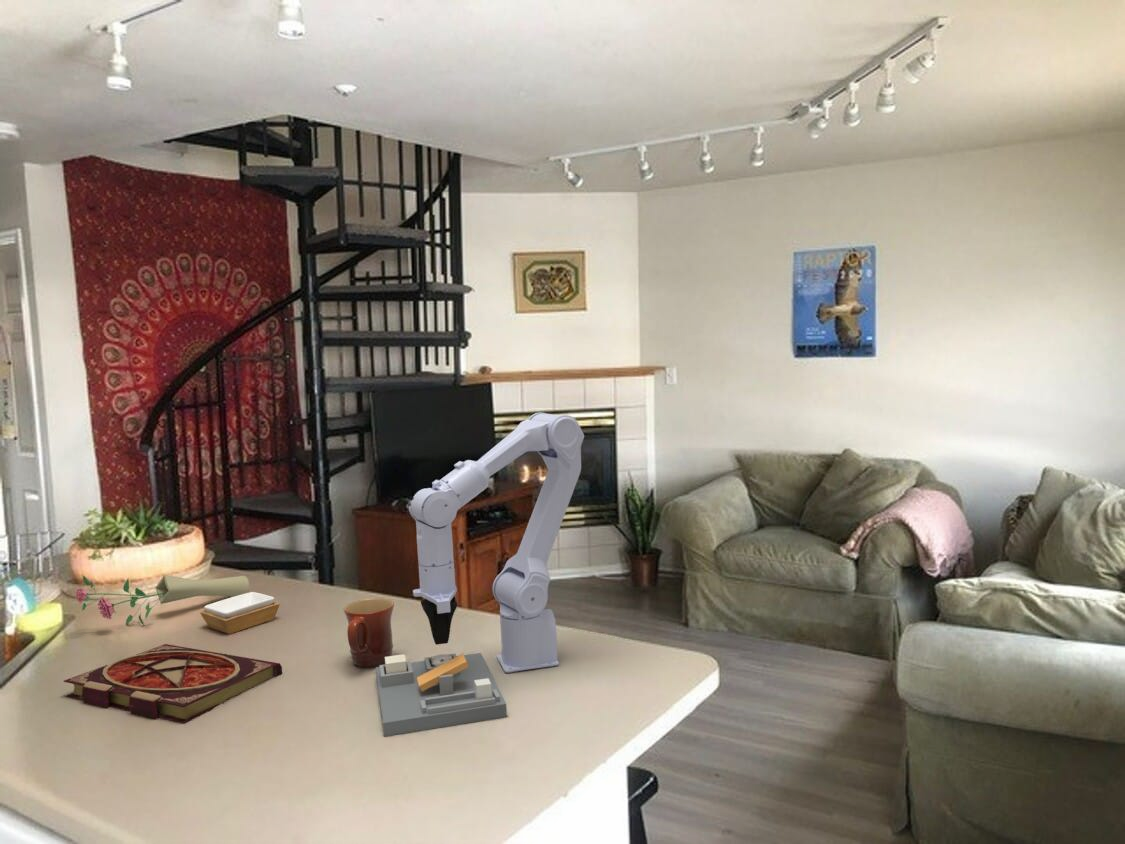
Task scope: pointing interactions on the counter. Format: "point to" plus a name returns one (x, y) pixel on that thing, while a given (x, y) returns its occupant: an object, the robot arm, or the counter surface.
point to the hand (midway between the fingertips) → (441, 642)
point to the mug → (370, 631)
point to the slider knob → (482, 689)
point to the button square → (395, 664)
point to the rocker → (442, 672)
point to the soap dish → (240, 612)
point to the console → (436, 697)
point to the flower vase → (171, 592)
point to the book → (171, 682)
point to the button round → (440, 659)
